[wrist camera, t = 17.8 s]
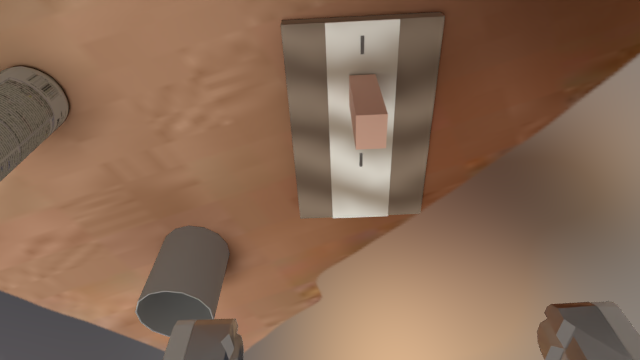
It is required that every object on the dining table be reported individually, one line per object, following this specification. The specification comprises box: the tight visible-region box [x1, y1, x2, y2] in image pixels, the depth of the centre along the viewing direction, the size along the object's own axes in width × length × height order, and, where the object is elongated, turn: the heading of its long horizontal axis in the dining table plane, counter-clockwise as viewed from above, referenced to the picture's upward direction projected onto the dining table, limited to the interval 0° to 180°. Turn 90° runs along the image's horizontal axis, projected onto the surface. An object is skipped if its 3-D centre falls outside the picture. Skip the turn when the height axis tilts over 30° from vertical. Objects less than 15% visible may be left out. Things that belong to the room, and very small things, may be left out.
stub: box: [349, 74, 388, 150], centre depth 35 cm, size 3×2×8 cm
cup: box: [135, 226, 230, 337], centre depth 49 cm, size 8×8×10 cm
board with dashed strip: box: [281, 12, 445, 219], centre depth 42 cm, size 22×14×2 cm, turn 3°
